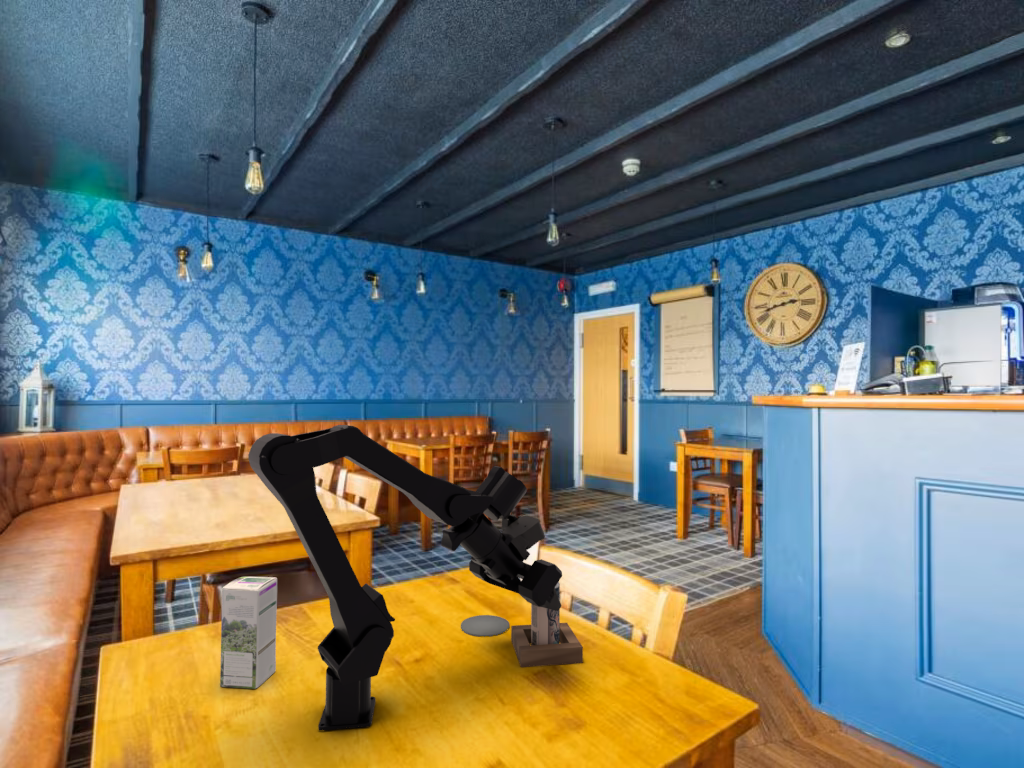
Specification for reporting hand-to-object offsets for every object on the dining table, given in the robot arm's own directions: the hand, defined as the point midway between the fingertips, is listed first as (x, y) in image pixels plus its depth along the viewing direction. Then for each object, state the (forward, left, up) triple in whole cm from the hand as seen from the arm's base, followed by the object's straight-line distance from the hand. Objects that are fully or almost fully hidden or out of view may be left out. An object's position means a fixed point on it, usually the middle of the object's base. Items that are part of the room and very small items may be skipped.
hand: (541, 600), depth 92 cm
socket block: (0, -1, -9) cm, 9 cm away
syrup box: (-3, +45, -9) cm, 46 cm away
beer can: (0, -1, -9) cm, 9 cm away
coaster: (+12, +8, -9) cm, 17 cm away
